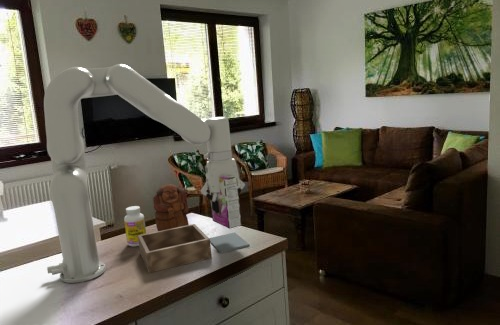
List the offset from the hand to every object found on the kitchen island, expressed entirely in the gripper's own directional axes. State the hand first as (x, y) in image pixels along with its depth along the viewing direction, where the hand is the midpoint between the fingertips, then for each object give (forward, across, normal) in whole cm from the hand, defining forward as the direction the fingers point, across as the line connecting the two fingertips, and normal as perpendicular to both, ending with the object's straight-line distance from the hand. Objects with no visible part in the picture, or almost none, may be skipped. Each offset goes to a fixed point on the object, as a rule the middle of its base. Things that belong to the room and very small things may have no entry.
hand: (225, 209), depth 136 cm
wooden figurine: (+12, -13, +22) cm, 28 cm away
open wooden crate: (+11, -18, 0) cm, 21 cm away
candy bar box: (+5, 0, 0) cm, 5 cm away
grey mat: (+12, 0, 0) cm, 12 cm away
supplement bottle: (+12, -27, +18) cm, 35 cm away
